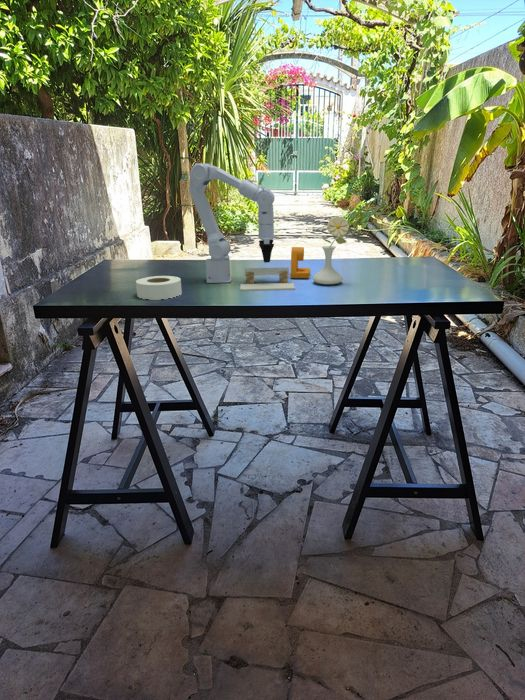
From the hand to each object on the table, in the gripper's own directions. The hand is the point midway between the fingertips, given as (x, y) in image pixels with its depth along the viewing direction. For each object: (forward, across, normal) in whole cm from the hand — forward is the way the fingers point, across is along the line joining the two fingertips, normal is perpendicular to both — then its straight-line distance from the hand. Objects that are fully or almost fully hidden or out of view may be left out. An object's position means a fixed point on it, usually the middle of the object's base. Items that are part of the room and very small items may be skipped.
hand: (266, 260), depth 183 cm
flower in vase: (+9, -4, -24) cm, 26 cm away
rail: (+6, 0, 0) cm, 6 cm away
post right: (+8, 0, -6) cm, 11 cm away
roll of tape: (+9, -16, +39) cm, 43 cm away
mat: (+8, -9, 0) cm, 12 cm away
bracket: (+9, +9, -14) cm, 19 cm away
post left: (+8, 0, +7) cm, 11 cm away
